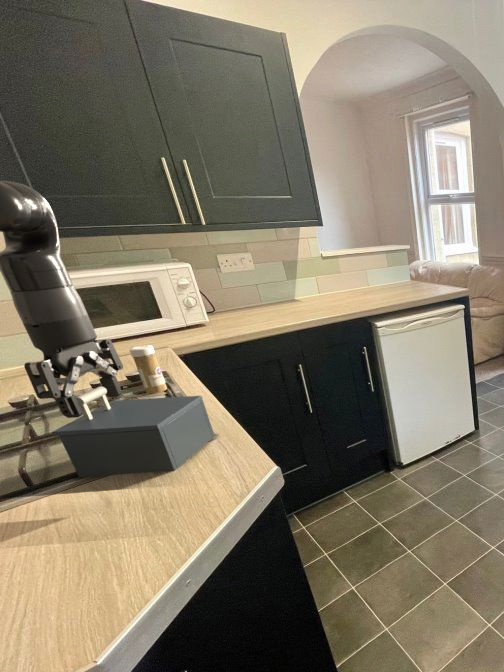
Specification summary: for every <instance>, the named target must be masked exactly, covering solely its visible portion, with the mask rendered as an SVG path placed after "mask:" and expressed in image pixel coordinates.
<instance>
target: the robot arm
mask: <svg viewBox="0 0 504 672" xmlns="http://www.w3.org/2000/svg"><path fill="white" fill-rule="evenodd" d="M0 233H2V235H3V239H4V245H5V247H4V249H2V250H1V251H0V273H1V275H2V278H3V280H4V282H5V284H6V286H7V288H8V290H9V293H10V295H11V298H12V302H13V305H14V306H13V307H14V308H15V310H16V312H17V314H18V316H19V319H20V321H21V323H22V325H23V327H24V329H25V331H26V333H27V335H28V337H29V339H30V341H31V343H32V345H33V347H34V348H35V349H37V350H39V351H40V352H42V355H43V359H42V360H39V361H29V362H25V363H24V365H23V367H24V370H25V372H26V375H27V376H28V379H29V381H30V383H31V386H32V388H33V391H34V393H35V396H36V397H37V398H38V399H40V400H45V399H53V400H54V401H55V402H56V404H57V406H58V408H59V410H60V412H61V414H62V416H63V417H66V418H68V419H74V418H75V419H77V418H80V417H82V416H84V415H83V413H82V410H81V408H80V406H79V404H78V402H77V400H76V398H75V397H76V395H73V393H74V387H75V385H77V383H78V382H79V378H80V377H83V376H85V375H86V374H87V373H92V374H94V375H96V376H97V377H99V378H98V380H99V382H100V384H101V385H100V386H101V387H104V388H106V390H107V393H106V394H105V396H106V398H118V397H121V395H122V394H123V393H122V388H121V386H120V383H119V381H118V378H117V376H118V372H119V371H120V370H121V371H122V370H124V365H123V363H122V360H121V359H120V356H119V353H118V351H117V349H116V347H115V346H114V344H113V341H112V340H111V339H109V338H107V339H106V338H105V339H97V338H98V335H97V333H96V331H95V328H94V326H93V324H92V321H91V319H90V316H89V314H88V311H87V309H86V307H85V305H84V302H83V300H82V297H81V296H80V294H79V293H78V291H77V290H76V287H75V286H74V284H73V281H72V279H71V276H70V274H69V271H68V270H67V268H66V265H65V263H64V261H63V258H62V252H61V240H60V235H59V228H58V223H57V219H56V215H55V213H54V211H53V208H52V207H51V206H50V203H49V202H48V201H47V200H46V198H45V197H44V196H43V195H42V194H41V193H40V192H39V191H37V190H36V189H35V188H33V187H31V186H28V185H26V184H24V183H21V182H16V181H10V180H9V181H8V180H0ZM110 360H111V361H110ZM111 362H112V363H111ZM61 376H63V377H61ZM46 389H47V390H46Z"/></svg>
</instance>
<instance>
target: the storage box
mask: <svg viewBox="0 0 504 672" xmlns="http://www.w3.org/2000/svg"><path fill="white" fill-rule="evenodd" d="M208 414H209V413H208V412H207V409H206V406H205V402H204V400H203V399H202V400H201V401H199V402H198V403H196V404H195V405H193V406H192V407H191V408H189V409H188V410H186V411H185V412H183V413H182V414H180V415H179V416H177V417H176V418H174V419H173V420H172V421H170V422H169V423H167V424H166V425H164V426H163V427H161V428H160V429H158V430H142V431H127V432H111V433H96V434H80V435H65V436H58V437H59V440H60V441H61V443H62V445H63V448H64V450H65V451H66V453H67V455H68V457H69V460H70V461H71V463H72V466H73V468H74V470H75V472H76V474H77V477H78V478H93V477H106V476H122V475H135V474H150V473H163V472H175V471H177V470H178V469H179V468H180V467H181V466H182V465H183V464H184V463H186V462H187V461H188V460H189V459H190V458H191V457H192V456H193V455H195V454H196V453H197V452H198V451H199V450H200V449H202V448H203V447H204V446H205V445H206V444H208V442H210V441H211V440H212V439H213V438H214V437H215V436H216V435H215V433H214V429H213V426H212V423H211V420H210V417H209V415H208Z"/></svg>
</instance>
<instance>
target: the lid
mask: <svg viewBox="0 0 504 672" xmlns="http://www.w3.org/2000/svg"><path fill="white" fill-rule="evenodd" d="M106 393H107V390H106V388H104V387H102V385H100V386H97V387H95V388H93V389H91V390H88V391H87V392H84V393H82V394H80V395H78V396H75V398H76V400H77V402H78V404H79V406H80V408H81V410H82V413H83V415H81V416H80V417H77V418H75V419H74V420H72V421H70V422H68V423H67V424H65V425H62V426H61V427H59V428H57V429H54V430H52V431H51V435H52V436H53V437H59V436H65V435H80V434H96V433H111V432H127V431H142V430H158V429H160V428H161V427H163V426H164V425H166V424H167V423H169V422H170V421H172V420H173V419H174V418H176V417H177V416H179V415H180V414H182V413H183V412H185V411H186V410H188V409H189V408H191V407H192V406H193V405H195V404H196V403H198V402H199V401H201V400H203V396H202V395H187V396H172V397H171V396H170V397H156V398H155V397H154V398H139V399H120V400H119V399H118V400H110V401H109V400H108V397H107V396H106ZM97 399H99V402H100V403H101V406H99V407H97V408H95V409H93V410H90V408H89V406H88V404H89V403H90V402H93V401H94V400H97Z"/></svg>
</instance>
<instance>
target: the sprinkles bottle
mask: <svg viewBox="0 0 504 672" xmlns="http://www.w3.org/2000/svg"><path fill="white" fill-rule="evenodd" d="M129 354H130V356H131V357H132V359H133V361H134V364H135V366H136V370H137V373H138V375H139V377H140V380H141V383H142V385H143V388H144V389H145V392H146V394H147V395H149V394H151V395H152V394H153V395H154V394H159V393H161V392H165V391H166V390H167V389H168V387H167V385H166V380H165V377H164V374H163V373H162V370H161V367H160V365H159V362H158V359H157V357H156V351H155V349H154V347H153V345H151V344H150V345H149V344H148V345H147V344H146V345H145V344H144V345H138V346H134V347H131V348H130V349H129Z"/></svg>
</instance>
